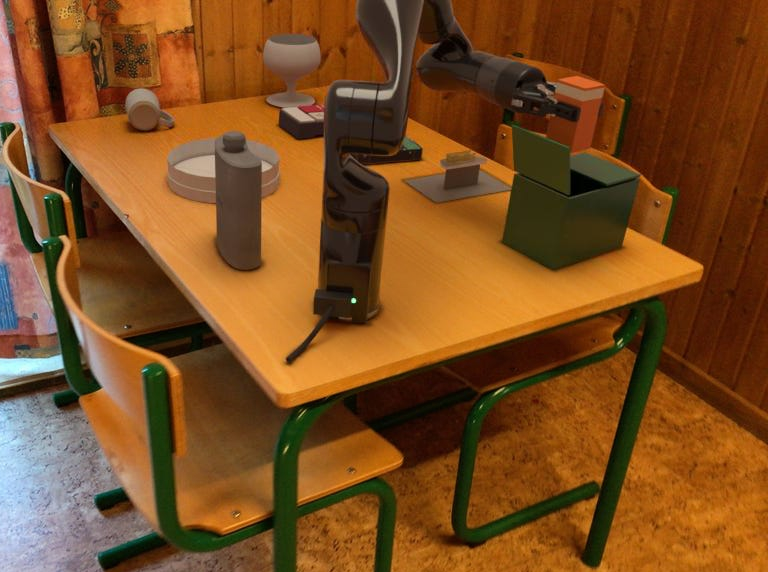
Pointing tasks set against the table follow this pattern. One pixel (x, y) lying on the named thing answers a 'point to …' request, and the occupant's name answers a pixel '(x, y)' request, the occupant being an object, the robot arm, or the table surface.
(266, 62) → the chalice
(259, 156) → the dish
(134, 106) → the ceramic mug
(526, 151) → the green box lid flap
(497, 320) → the table surface
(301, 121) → the dark box with panels
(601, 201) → the green flap box
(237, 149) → the flask
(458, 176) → the platform
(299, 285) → the table surface
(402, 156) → the disk drive
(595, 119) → the block
